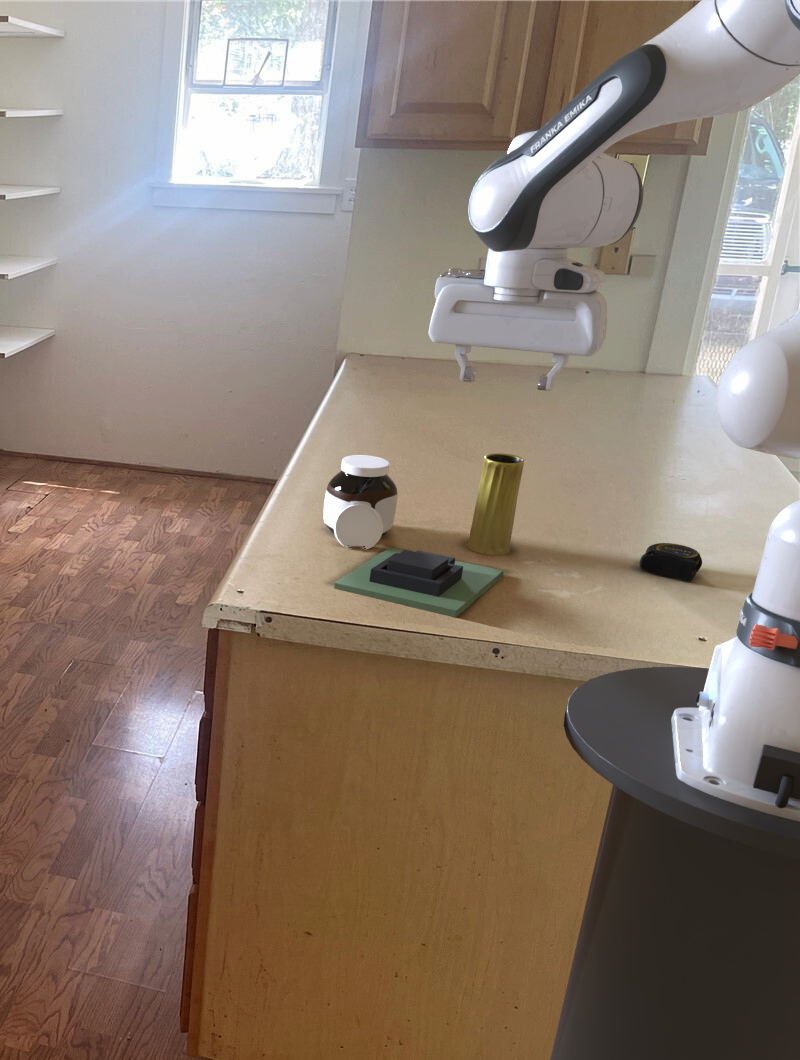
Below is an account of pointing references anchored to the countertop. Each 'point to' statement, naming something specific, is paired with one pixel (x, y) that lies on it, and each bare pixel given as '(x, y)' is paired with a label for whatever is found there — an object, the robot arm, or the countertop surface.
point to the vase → (496, 504)
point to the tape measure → (671, 561)
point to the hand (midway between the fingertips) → (505, 385)
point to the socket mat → (421, 584)
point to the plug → (418, 564)
